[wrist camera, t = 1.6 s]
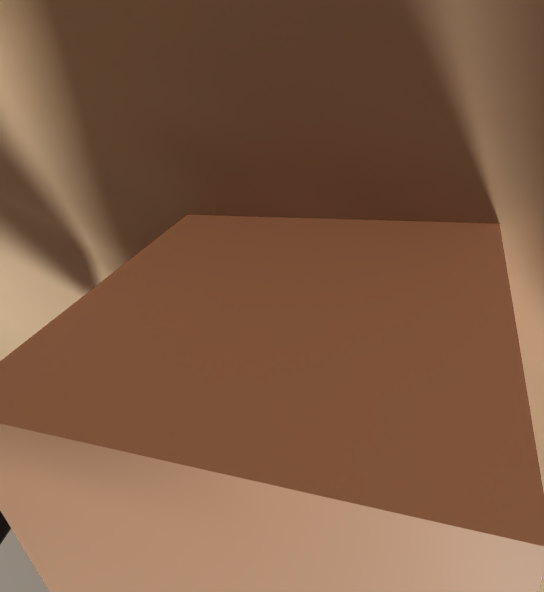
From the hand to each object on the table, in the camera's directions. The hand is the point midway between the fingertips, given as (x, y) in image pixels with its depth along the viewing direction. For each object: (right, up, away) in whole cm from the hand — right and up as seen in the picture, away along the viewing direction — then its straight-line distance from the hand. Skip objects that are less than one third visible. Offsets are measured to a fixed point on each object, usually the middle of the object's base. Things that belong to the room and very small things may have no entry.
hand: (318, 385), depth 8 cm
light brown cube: (0, +1, +1) cm, 1 cm away
